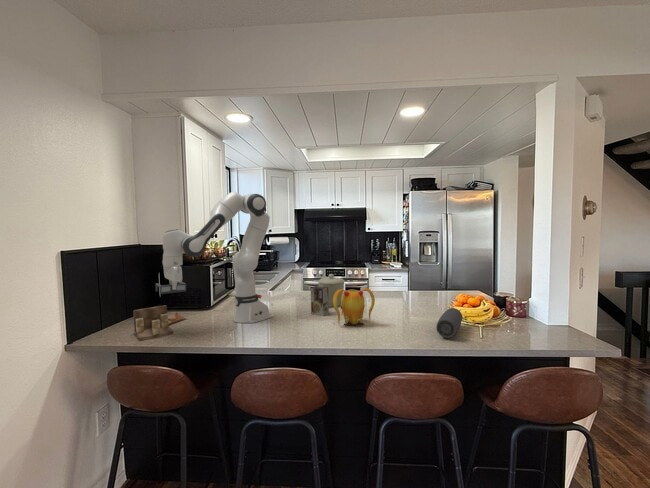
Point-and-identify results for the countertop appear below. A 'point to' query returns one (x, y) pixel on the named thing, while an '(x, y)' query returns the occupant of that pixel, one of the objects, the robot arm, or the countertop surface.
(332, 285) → the canister
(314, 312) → the coffee box
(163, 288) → the glasses
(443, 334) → the bluetooth speaker
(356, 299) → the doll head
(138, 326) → the display stand
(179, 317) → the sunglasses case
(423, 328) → the countertop surface
